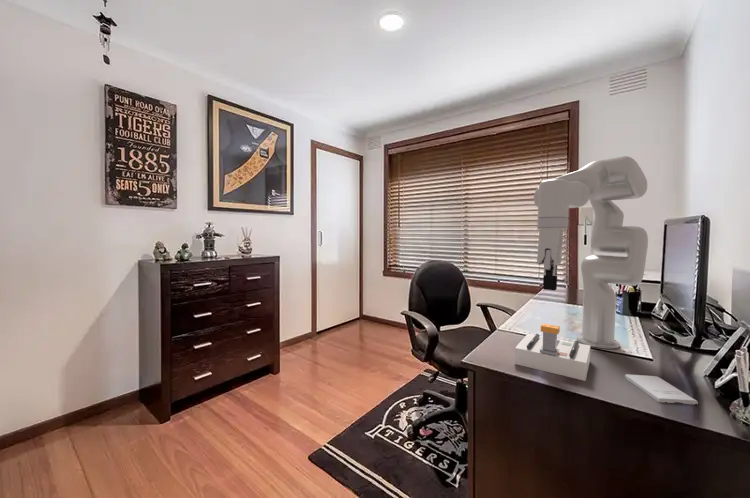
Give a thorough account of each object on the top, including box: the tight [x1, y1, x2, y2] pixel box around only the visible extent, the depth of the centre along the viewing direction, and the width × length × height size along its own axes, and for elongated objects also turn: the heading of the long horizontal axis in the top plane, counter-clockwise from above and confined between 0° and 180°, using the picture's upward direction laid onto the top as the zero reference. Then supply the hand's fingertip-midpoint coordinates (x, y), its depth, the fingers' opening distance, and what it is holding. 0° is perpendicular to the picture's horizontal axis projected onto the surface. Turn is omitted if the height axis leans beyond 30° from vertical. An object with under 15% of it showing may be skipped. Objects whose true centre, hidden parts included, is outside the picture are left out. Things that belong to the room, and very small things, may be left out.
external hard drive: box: [624, 373, 699, 405], centre depth 80 cm, size 2×8×12 cm
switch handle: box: [540, 323, 561, 356], centre depth 91 cm, size 4×4×8 cm
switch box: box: [514, 333, 591, 382], centre depth 97 cm, size 16×18×6 cm
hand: (549, 289), depth 89 cm, fingers closed
